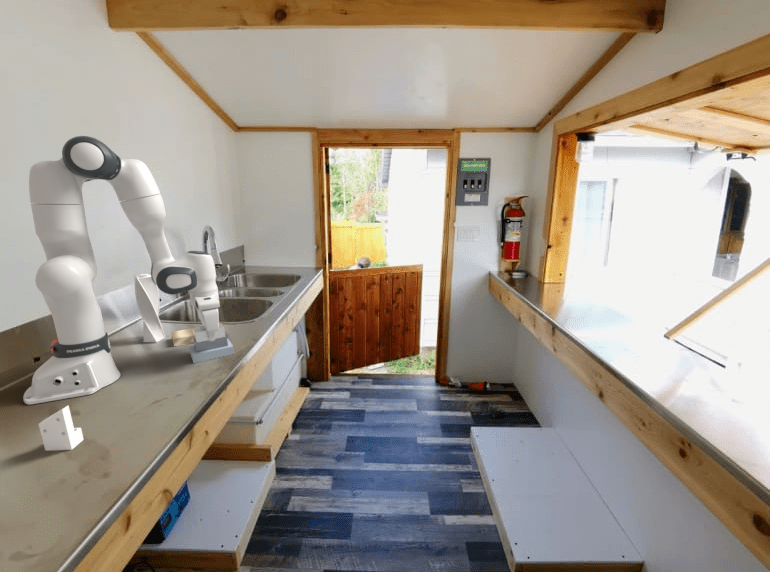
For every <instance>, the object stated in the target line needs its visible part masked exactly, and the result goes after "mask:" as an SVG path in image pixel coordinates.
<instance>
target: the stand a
mask: <svg viewBox="0 0 770 572" xmlns="http://www.w3.org/2000/svg"><path fill="white" fill-rule="evenodd" d="M193 328H194V327H192V328H187V329H181V330H176V331H170V334H171V340H172V343H173V347H174V348H175V346H176V347H181V346H185V345H189V344H194V342H193V337H194V332H193ZM180 345H181V346H180Z"/></svg>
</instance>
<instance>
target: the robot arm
mask: <svg viewBox="0 0 770 572" xmlns="http://www.w3.org/2000/svg"><path fill="white" fill-rule="evenodd" d="M61 153H62V154H61V155H62V156H61V158H59V159H58V160H43V161H39V162H36V163H34V164H33V165H32V166H31V167H30V169H29V176H28V191H29V192H28V193H29V201H30V207H31V212H32V219H33V225H34V229H35V234H36V236H37V237H38V239H39V241H40V244H41V245H42V248H43V251H44V254H45V258H46V261H45V262H43V263H42V264H41V265H40V266H39V268H38V269H37V271H36V274H35V279H34V280H35V285H36V287H37V289H38V291H39V292H40V293H41V294H42V297H43V299H44V301H45V303H46V305H47V308H48V310H49V311H50V314H51V317H52V320H53V324H54V328H55V333H56V336H57V339H54V340H52V341H51V342H50V352H51V355H52V356H51V357H50V358H48V359H47V360H46V361H45V362H44V363H43V364H41V366H39V367H38V368H37V369H36V370H35V372H34V373H33V376H32V379H31V385H30V386H29V387H28V388H27V389H26V391H24V394H23V396H22V397H23V398H22V399H23V402H24V404H25V405H28V406H29V405H35V404H42V403H47V402H48V403H49V402H53V401H59V400H65V399H66V400H67V399H69V398H78V397H83V396H88V395H92V394H94V393H96V392H97V391H99V390H101V389H102V388H105V387H107V386H109V385H111V384H113V383H114V382H116V381H117V380H119V378H120V377H121V376H122V375H121V371H119V369H118V368H117V366H116V363H115V361H114V358H113V356H112V353H111V350H112V349H111V348H112V347H111V341H110V337H109V335H108V332H106V329H105V323H104V319H103V318H104V317H103V315H102V314H103V313H102V310H101V307H100V305H99V303H98V300H97V298H96V296H95V292H94V289H93V285H92V283H93V282H94V281H95V279H96V277H97V275H98V267H97V263H96V262H97V261H96V259H95V258H96V257H95V254H94V250H93V246H92V243H91V240H90V237H89V232H88V225H87V218H86V213H85V211H86V210H85V204H84V199H83V197H84V196H83V185H84V183H85V182H91V181H94V180H95V181H96V180H103V181H106V182H108V183H109V184H110V185H111V187H112V189H113V190H114V192H115V194H116V197H117V199H118V201H119V204H120V207H121V209H122V210H123V213H124V214H125V216H126V217H127V219H128V221H129V222H130V224H131V225H132V226H133V227H134V228H135V230H137V232H138V234H140V236H141V238H142V240H143V242H144V245H145V247H146V251H147V252H148V255H149V257H150V260H151V268H150V271H151V278H152V280H153V282H154V283H155V284H156V285H157V288H158V290H159V291H161V292H162V293H164V294H167V295H177V294H181V293H185V292H187V291H188V292H189V299H190V300H189V301H190V305H191V306H192V307H194V308H195V310H196V312H197V316H198V319H199V320H200V322H201V324H202V326H204V327H205V329H206V331H207V332H208V338H209V341H214V340H215V331H218V329H219V323H220V319H219V318H220V317H219V315H220V314H219V308H220V307H221V305H220V297H219V287H218V285H217V282H216V280H217V272H216V265H215V261H214V259H213V256H212V255H211V253H208V252H206V251H201V250H189V251H186V252H185V253H184V254H183V255H182V256H180V257H179V258H177V259H175V257H174V256H173V254H172V251H171V249H170V247H169V243H168V239H167V237H166V235H165V228H164V226H165V221H166V219H167V218H166V217H167V212H166V208H165V207H166V205H165V203H164V199H163V196H162V194H161V190H160V188H159V186H158V184H157V181H156V180H155V177H154V176H153V174H152V172H151V170H150V169H149V167H148V165H147V164H146V163H145V162H143V161H142V160H140V159H136V158H121V157H120V156H119V155H117V154H116V153H115V152H114V151H113V150H112V149H111V148H110V147H108V145H106V144H105V143H104V142H103V141H101V140H99V139H97V138H96V137H93V136H87V135H80V136H78V135H77V136H74V137H72V138H69V139H68V140H67V141H66V142H65V143H64V145H63V146H62V151H61Z"/></svg>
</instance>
